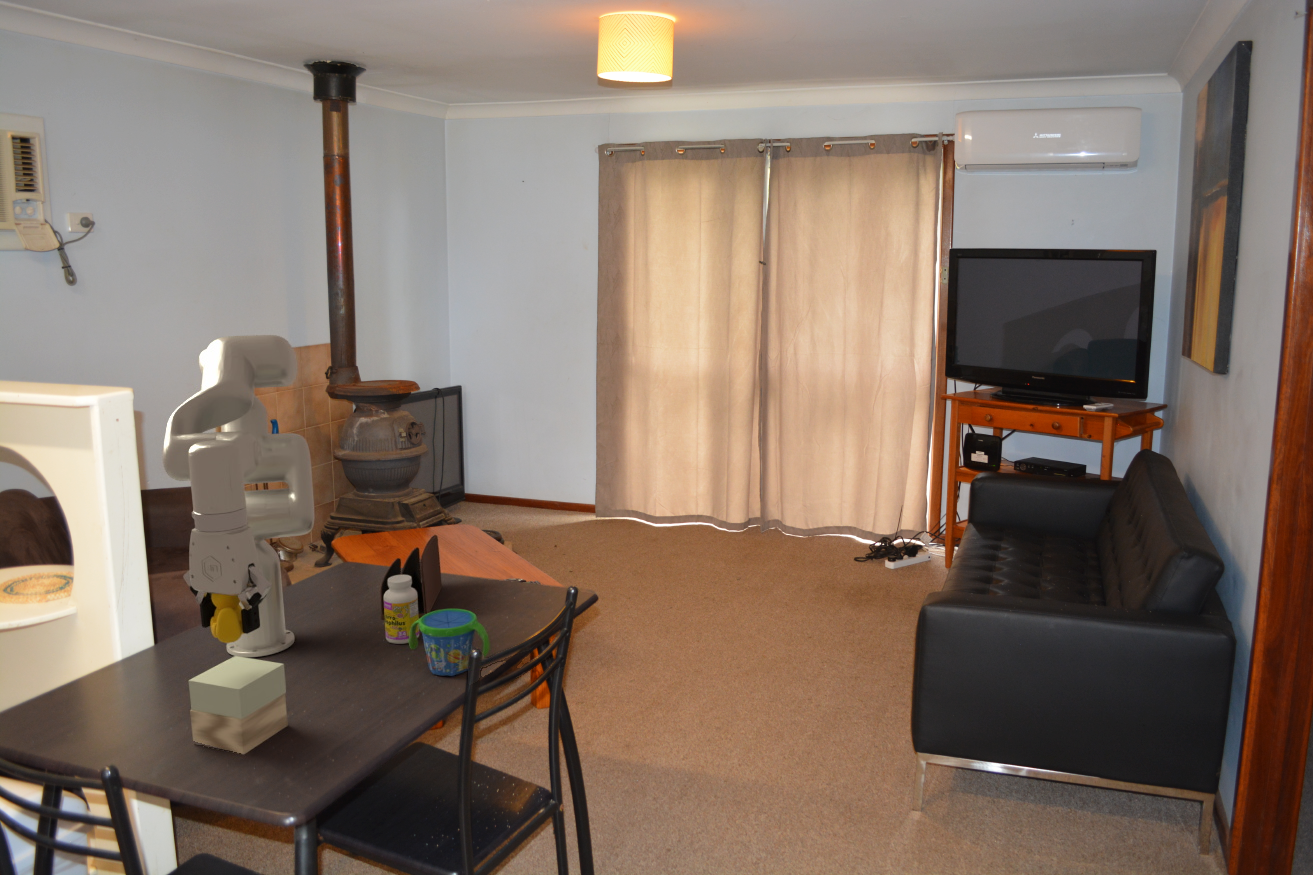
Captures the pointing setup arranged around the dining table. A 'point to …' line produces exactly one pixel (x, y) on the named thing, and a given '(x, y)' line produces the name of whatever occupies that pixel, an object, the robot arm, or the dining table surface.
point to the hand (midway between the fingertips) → (231, 626)
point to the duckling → (226, 618)
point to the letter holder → (418, 576)
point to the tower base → (239, 727)
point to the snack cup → (448, 639)
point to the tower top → (237, 687)
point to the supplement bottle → (400, 609)
